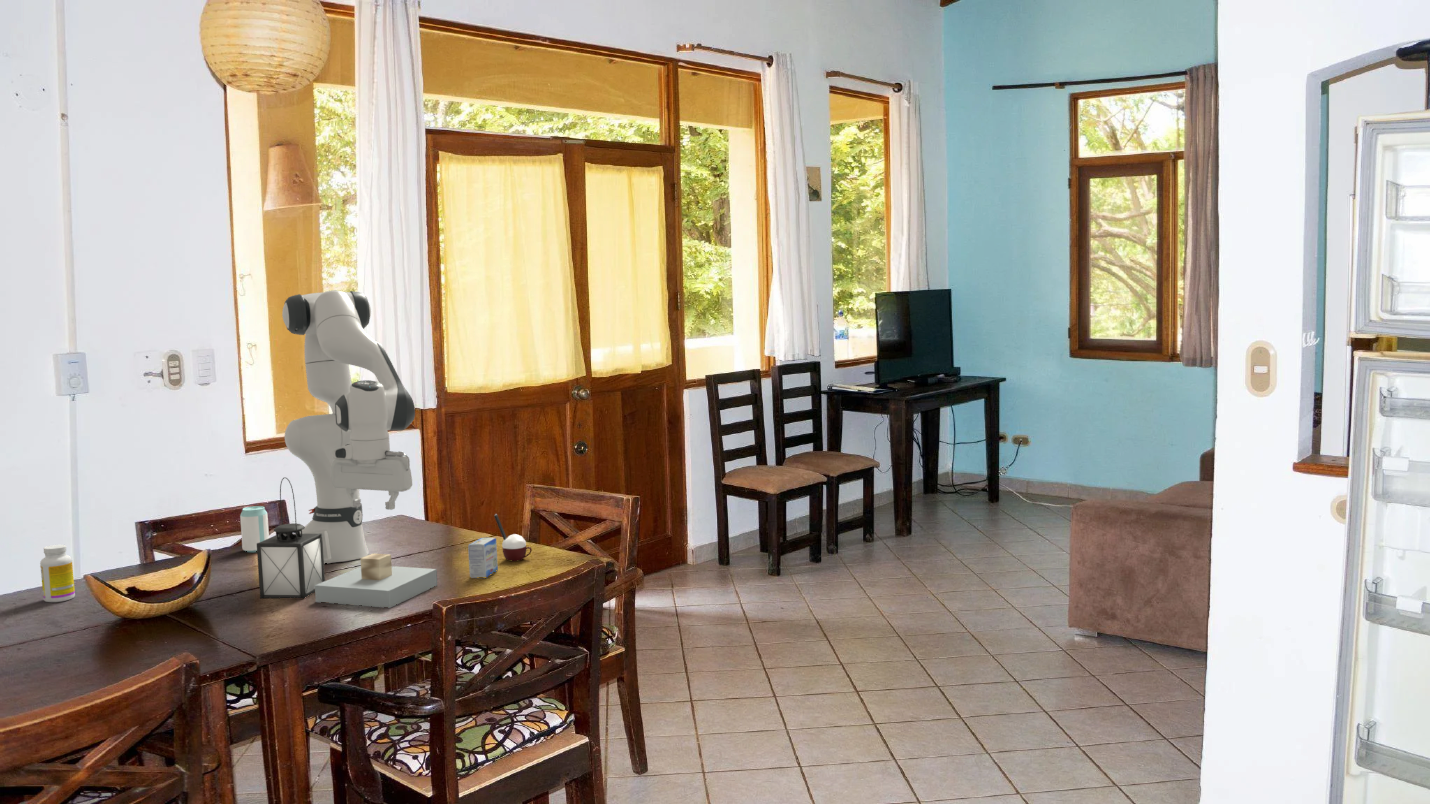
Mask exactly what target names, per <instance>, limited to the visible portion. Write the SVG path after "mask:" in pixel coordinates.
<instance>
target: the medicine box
mask: <svg viewBox="0 0 1430 804" xmlns="http://www.w3.org/2000/svg"><path fill="white" fill-rule="evenodd" d="M497 546H498V545H497V538H496V537H480V538H478V539H477V540H475V541H474V542H471V543H469V544H468V546H467V547H468V548H467V549H468V551H467V553H468V568H469V578H470V577H471V578H470V579H478V578H477V577H487V578H489V577H490V576H491V575H490V574H492V573H493V572H495V573H496V572H497V571H498V569H499V568H498V567H499V566H498V551H497V549H498V548H497ZM496 570H497V571H496ZM493 574H494V573H493ZM493 574H492V575H493ZM489 575H490V576H489ZM488 576H489V577H488Z"/></svg>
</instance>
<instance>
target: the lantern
mask: <svg viewBox="0 0 1430 804" xmlns="http://www.w3.org/2000/svg"><path fill="white" fill-rule="evenodd" d="M284 479H286V480H287V482H289V485H290V488H291V493H292V497H293V498H292V499H293V507H294V519H295V520H294V521H295V522H294V523H293V522H291V523H283V511H282V509H283V508H282V483H283V481H284ZM279 502H280V504H279V505H280V517H281V519H280V520H281V524H280V525H278V526H276V527H275V528H274V529H273V532H275V533H276V534H275V535H273V536H271V537H269V539H266V540H264V541H262V542H260V543H257V552H256V554H257V555H256V556H257V558H256V559H257V569H258V583H259V584H258V585H259V599H280V598H305V597H306V598H307V596H308V595H309V596H311V595H312V594H311V593H313V594H315V593H314V592H315V585H317V584H319V583H322V582H324V581H326V577H325V575H326V574H325V564H324V557H323V540H322V533H319V534H302V530H303V529H304V528H305V526H304V525H302V524H301V523H297V513H296V512H297V510H296V503H295V502H296V501H295V494H294V489H293V486H292V483H291V481H290V480H289V478H288V477H283V478H282V479H281V481H280V486H279ZM300 531H301V534H300ZM310 594H311V595H310ZM309 596H308V597H309ZM306 598H305V599H306Z"/></svg>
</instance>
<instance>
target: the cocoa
mask: <svg viewBox="0 0 1430 804" xmlns="http://www.w3.org/2000/svg"><path fill="white" fill-rule="evenodd" d="M493 517H494V519H495V521H496V524H497V527H498V530H499V531H500V534H501V536H502V539H503V540H502V543H501V544H502V545H501V546H502V548H501V549H502V553H503V556H504V558H505V559H506V560H507V561H508V560H512V561H511V562H518V561H517V560H520V561H522V560H523V559H525V558H526V557H528V556H530V554H531V553H532V550H533V549H532V547H530V546H527V543H526V542H527V541H526V540H525V538H524V537H523V536H522V535H519V534H516V533H513V534H510V535H508V536H507V535H506V533H505V532H506V531H505V530H504V527H503V526H502V523H501V520H500V518H499V516H498V514H497V513H495V514H494V516H493ZM527 549H529V552H528V553H527Z"/></svg>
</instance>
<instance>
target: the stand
mask: <svg viewBox="0 0 1430 804" xmlns="http://www.w3.org/2000/svg"><path fill="white" fill-rule="evenodd" d="M437 574H438V571H437V568H426V567H423V568H422V567H411V566H410V567H409V566H396V565H395V566H393V565H392V575H391V576H389V577H386V578H384V579H382V580H369V579H362V576H361V566H359V567H357V568H354V569H351V570H349V571H347V572H344V573H342V574H339V575H337V576H335V577H332V578H330V579H328V580H325V581H324V582H322V583H319V584H317V585H315V593H314V594H315V603H321V602H329V603H328V604H334V603H338V604H337V605H346V604H354V605H353V606H359V605H362V606H361V607H371V606H372V607H374V608H384V607H388V609H390V608H392V607H393V608H394V607H395V606H397V605H399V604H401V603H403V602H405V601H407V600H409V599H412V598H414V597H415V596H418V595H420V594H422V593H425V592H427V591H428V590H431V589H432V588H435V587H436V586H438V575H437ZM434 586H435V587H434ZM430 588H431V589H430ZM396 604H397V605H396ZM372 607H371V608H372Z"/></svg>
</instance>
